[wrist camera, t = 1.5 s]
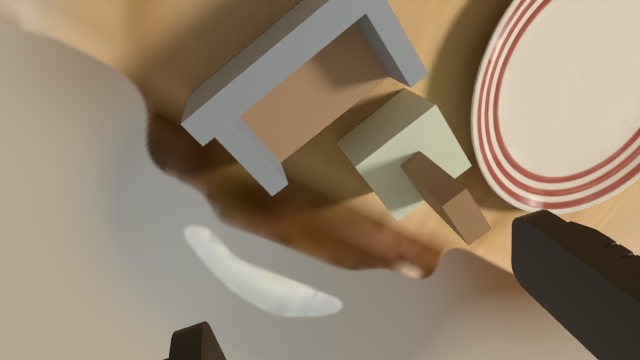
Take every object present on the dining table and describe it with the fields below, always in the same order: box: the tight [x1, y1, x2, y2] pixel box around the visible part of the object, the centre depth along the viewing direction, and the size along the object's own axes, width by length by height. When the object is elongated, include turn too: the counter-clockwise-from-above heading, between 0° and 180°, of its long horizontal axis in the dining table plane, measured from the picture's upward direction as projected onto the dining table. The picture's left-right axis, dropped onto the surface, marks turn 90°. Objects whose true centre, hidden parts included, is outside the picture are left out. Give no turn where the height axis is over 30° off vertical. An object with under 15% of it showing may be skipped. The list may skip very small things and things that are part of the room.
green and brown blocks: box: [336, 88, 491, 245], centre depth 32 cm, size 7×8×13 cm
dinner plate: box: [471, 0, 640, 214], centre depth 39 cm, size 27×27×3 cm
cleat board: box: [181, 0, 428, 196], centre depth 30 cm, size 8×16×8 cm, turn 126°
